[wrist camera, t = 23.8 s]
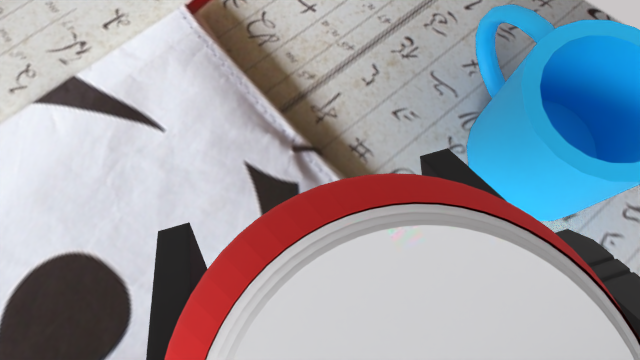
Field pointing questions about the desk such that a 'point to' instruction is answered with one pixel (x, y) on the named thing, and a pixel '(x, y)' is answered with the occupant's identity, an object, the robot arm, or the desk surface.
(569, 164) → the mug
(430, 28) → the desk surface
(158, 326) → the robot arm
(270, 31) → the desk surface
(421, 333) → the beverage can
